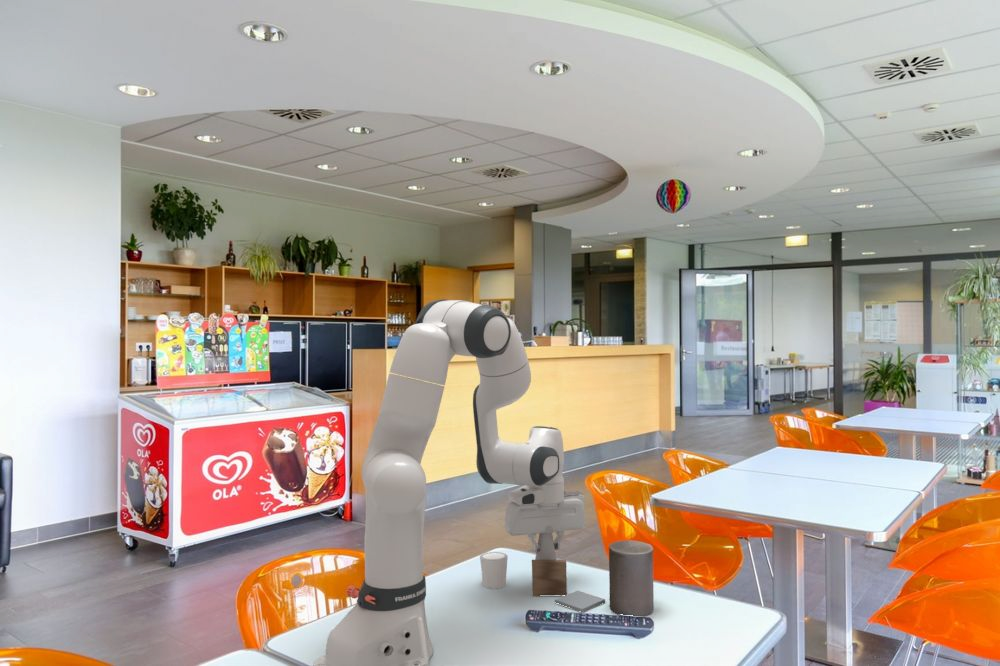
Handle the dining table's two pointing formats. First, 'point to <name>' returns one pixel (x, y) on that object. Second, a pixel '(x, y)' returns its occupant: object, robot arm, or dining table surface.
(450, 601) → the dining table surface
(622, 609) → the pillar candle
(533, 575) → the walnut box
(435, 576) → the dining table surface
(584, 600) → the slate mat
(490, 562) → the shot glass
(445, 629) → the dining table surface
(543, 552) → the salt shaker
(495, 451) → the robot arm
